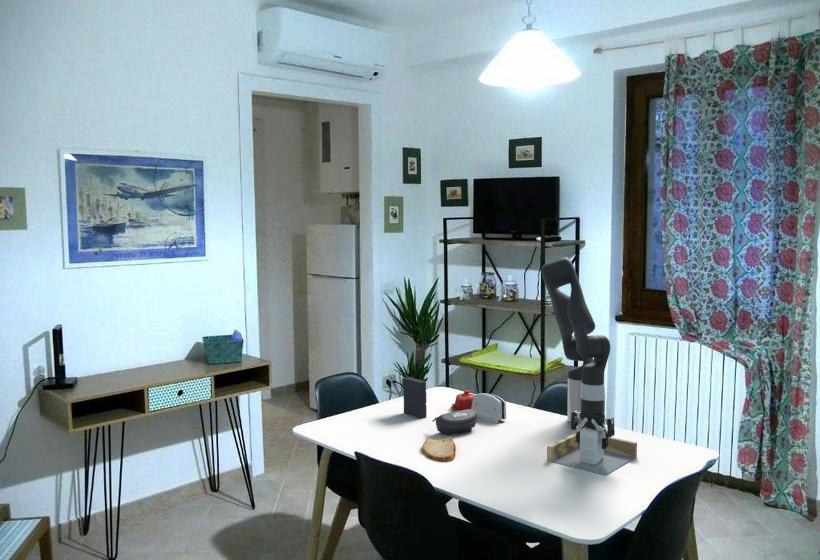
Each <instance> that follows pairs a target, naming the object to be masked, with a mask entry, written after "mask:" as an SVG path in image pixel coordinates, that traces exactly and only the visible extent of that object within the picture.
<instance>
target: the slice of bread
mask: <svg viewBox="0 0 820 560" xmlns="http://www.w3.org/2000/svg"><path fill="white" fill-rule="evenodd" d="M456 446H457V445H456V443H455V441H454V439H453V437H451V436H449V437H445V438H441V439H434V438H429V437H428V438H427V439H426V440H424V441H423V444H422V448H421V452H422V454H424V455H425V456H426V457H427V458H428V459H430V460H433V461H436V462H441V463H449V462H453V461H454V460H455V458H456V453H457V452H456V451H457V447H456Z"/></svg>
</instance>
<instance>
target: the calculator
mask: <svg viewBox="0 0 820 560" xmlns="http://www.w3.org/2000/svg"><path fill="white" fill-rule="evenodd" d="M401 382H402V383H401V385H402V389H403V415H408V416H411V417H413V418H416V419H420V420H422V419H423V420H424V419H426V418H427V409H428V408H427V382H426V380H422V379H417V378H414V377H412V376H408V377H407V376H406V377H403V378H402V381H401Z"/></svg>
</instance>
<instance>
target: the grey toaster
mask: <svg viewBox="0 0 820 560" xmlns="http://www.w3.org/2000/svg"><path fill="white" fill-rule="evenodd" d="M471 410H473V411H474V412H475V413H476V414H477V417H478V419H481V420H485V421H487V422H491V423H494V424H499V421H503V420H507V403H506V401H505V400H504V399H503V398H501V397H500V396H498V395H496V394H492V393H490V392H489V393H487V392H485V393H482V392H481V393H476V394H474V396H473V402H472V407H471Z"/></svg>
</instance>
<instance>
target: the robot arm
mask: <svg viewBox="0 0 820 560" xmlns="http://www.w3.org/2000/svg"><path fill="white" fill-rule="evenodd" d="M540 271H541V275H542V280H543V281H544V285H545V288H546V290H547V292H548V295H549V298H550V301H551V305H552V309H553V313H554V317H555V320H556V323H557V326H558V330H559V332H560V337H561V341H562V342H561V343H562V349H563V353H564V356H565V358H566V359H567V360H569V361H574V362H575V361H577V362H582V365H580V366H578V367H575V368H571V369H569V370H568V372H567V413H566V414H567V419H566V420H567V422H569V423H570V429H571V430H574V431H575V433H576V441H577V443H578V444H580V430H582V429H583V428H584V427H585V426H586V427H587V428H593V429H597V430H598V432H600V434H601V435H602V437H603V438H602V449H606V448H607V447H608V438H610V437H613V436H615V433H616V432H615V418H614V417H612V416H611V417H606V416H605V408H606V407H605V406H606V405H605V402H606V401H605V400H606V390H605V371H606V367H607V364H608V360H609V357H610V354H611V343H610V340H609V338H608V337H607V336H606V335H603V334H600V335H599V334H598V335H597V334H596V335H590V334H591V333H593V332H594V331H595V329H596V324H595V320H594V318H593V316H592V315H591V312H590V310H589V308H588V305H587V302H586V300H585V296H584V293H583V289H582V287H581V284H580V283H581V282H580V280H579V278H578V275H577V272H576V270H575V267H574V265H573V263H572V261H571V260H570V258H569V257H567V256H566V257H560V258H558V259H556V260H553V261H550V262H547V263H545V264H543V265H542V266H541V270H540ZM569 284H570V295H568V294H566V293H564V292H562V291H561V290H560V289H559V288H561V287H563V286H566V285H569ZM573 334H574V336H573ZM604 422H605V423H604ZM605 424H606V425H605ZM600 426H601V427H600ZM606 426H607V427H606Z"/></svg>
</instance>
